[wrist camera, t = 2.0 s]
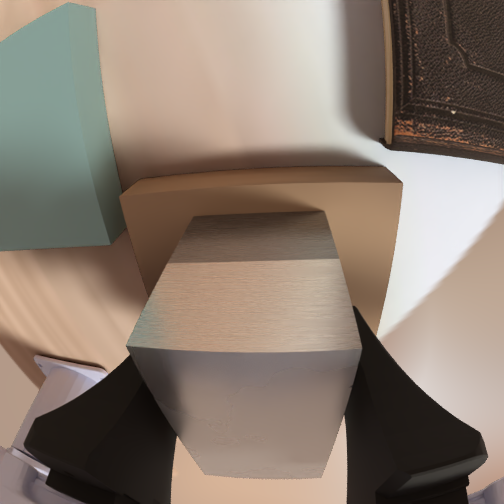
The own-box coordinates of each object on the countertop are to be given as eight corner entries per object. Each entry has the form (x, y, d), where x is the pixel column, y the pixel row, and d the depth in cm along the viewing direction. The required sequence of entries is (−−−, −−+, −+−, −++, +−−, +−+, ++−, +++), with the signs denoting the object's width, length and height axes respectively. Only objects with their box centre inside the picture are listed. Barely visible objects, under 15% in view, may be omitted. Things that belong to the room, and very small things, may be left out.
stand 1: (130, 223, 13) (110, 245, 12) (2, 235, 14) (-18, 252, 13) (95, 8, 8) (68, 2, 7) (-34, 84, 9) (-59, 91, 8)
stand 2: (360, 344, 16) (365, 372, 15) (185, 346, 17) (177, 373, 16) (385, 166, 11) (402, 183, 9) (139, 179, 12) (119, 196, 11)
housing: (315, 364, 14) (321, 477, 9) (224, 364, 15) (204, 474, 10) (324, 210, 10) (362, 348, 5) (193, 216, 11) (125, 345, 6)
